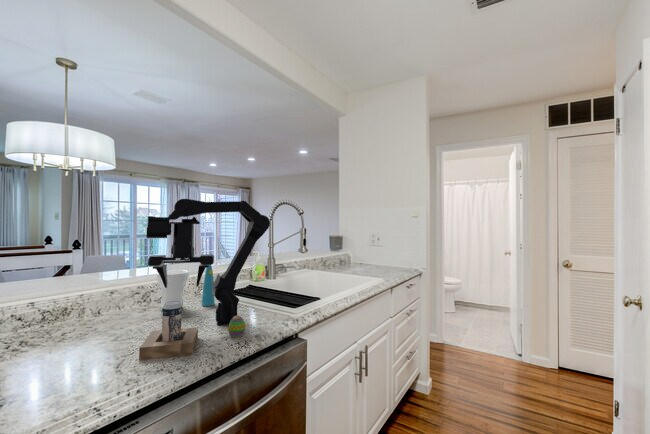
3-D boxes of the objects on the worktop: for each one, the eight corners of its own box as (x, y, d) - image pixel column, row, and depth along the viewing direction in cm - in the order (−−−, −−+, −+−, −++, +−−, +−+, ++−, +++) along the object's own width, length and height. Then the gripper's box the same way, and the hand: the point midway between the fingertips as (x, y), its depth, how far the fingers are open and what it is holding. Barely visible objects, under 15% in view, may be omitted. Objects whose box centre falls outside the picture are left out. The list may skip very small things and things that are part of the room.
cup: (193, 307, 120) (194, 271, 121) (166, 314, 111) (167, 275, 111) (177, 303, 126) (177, 269, 127) (149, 309, 117) (150, 272, 117)
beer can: (173, 352, 80) (174, 305, 80) (157, 350, 80) (158, 304, 81) (184, 345, 84) (186, 301, 84) (169, 343, 85) (170, 300, 85)
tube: (215, 306, 123) (216, 258, 123) (202, 307, 121) (203, 258, 121) (213, 302, 130) (214, 256, 130) (201, 303, 127) (202, 256, 128)
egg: (240, 339, 89) (241, 318, 89) (225, 338, 90) (225, 317, 90) (247, 333, 94) (248, 313, 94) (233, 332, 95) (233, 312, 95)
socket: (197, 337, 90) (197, 327, 90) (192, 354, 78) (192, 342, 78) (151, 341, 86) (152, 330, 86) (139, 360, 75) (139, 347, 75)
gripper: (215, 237, 108) (214, 281, 108) (157, 236, 103) (155, 283, 103) (213, 238, 98) (212, 287, 97) (148, 238, 93) (146, 290, 92)
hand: (182, 287), depth 98 cm, fingers open, 9 cm apart
